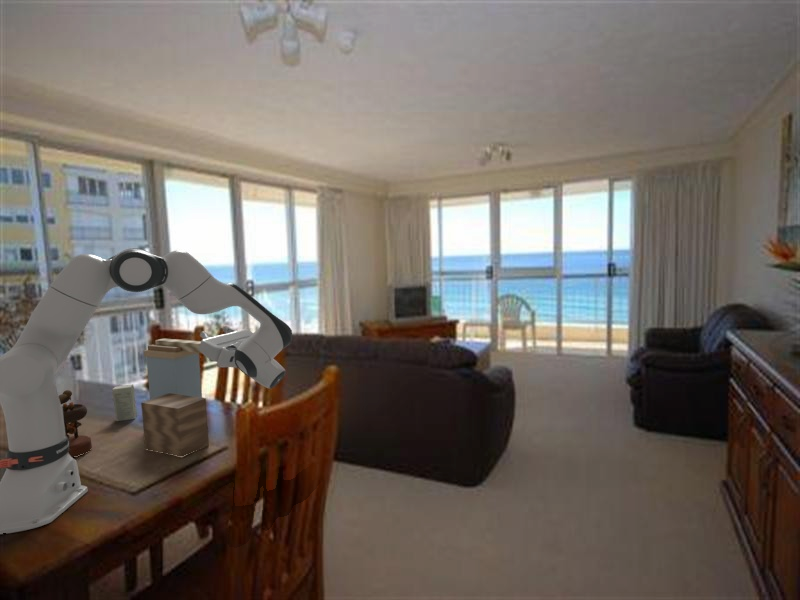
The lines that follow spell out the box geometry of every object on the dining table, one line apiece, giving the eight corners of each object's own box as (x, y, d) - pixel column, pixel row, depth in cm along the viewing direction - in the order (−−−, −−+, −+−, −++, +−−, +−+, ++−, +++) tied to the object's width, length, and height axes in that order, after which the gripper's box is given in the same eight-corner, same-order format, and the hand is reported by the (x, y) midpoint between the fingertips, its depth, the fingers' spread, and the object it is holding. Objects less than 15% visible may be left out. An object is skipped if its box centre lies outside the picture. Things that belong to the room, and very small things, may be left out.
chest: (206, 420, 167) (200, 342, 164) (179, 431, 157) (173, 348, 154) (176, 415, 173) (170, 340, 170) (150, 425, 163) (143, 346, 160)
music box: (83, 459, 137) (69, 394, 134) (41, 467, 134) (26, 401, 132) (103, 439, 152) (91, 380, 149) (65, 446, 149) (52, 386, 147)
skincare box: (137, 415, 175) (134, 383, 173) (134, 419, 171) (131, 386, 169) (117, 417, 173) (114, 385, 171) (114, 421, 169) (111, 389, 167)
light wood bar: (209, 350, 157) (208, 341, 157) (201, 352, 154) (200, 343, 154) (164, 346, 166) (164, 338, 166) (156, 348, 163) (155, 340, 163)
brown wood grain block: (209, 445, 145) (205, 398, 143) (181, 458, 136) (177, 408, 134) (173, 437, 152) (169, 393, 150) (145, 449, 143) (141, 402, 141)
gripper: (268, 338, 157) (239, 317, 161) (221, 351, 138) (191, 327, 143) (262, 353, 159) (234, 332, 163) (215, 368, 140) (185, 344, 145)
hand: (213, 330), depth 153 cm, fingers open, 8 cm apart
